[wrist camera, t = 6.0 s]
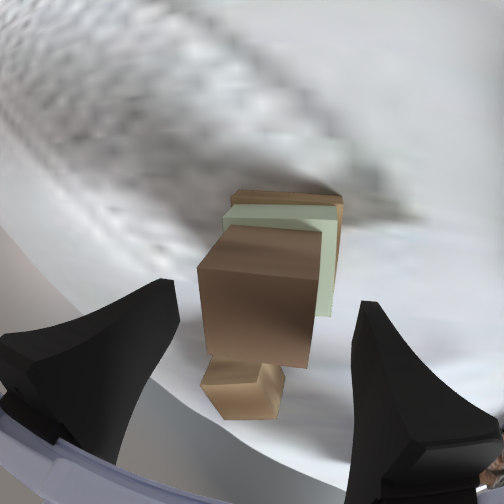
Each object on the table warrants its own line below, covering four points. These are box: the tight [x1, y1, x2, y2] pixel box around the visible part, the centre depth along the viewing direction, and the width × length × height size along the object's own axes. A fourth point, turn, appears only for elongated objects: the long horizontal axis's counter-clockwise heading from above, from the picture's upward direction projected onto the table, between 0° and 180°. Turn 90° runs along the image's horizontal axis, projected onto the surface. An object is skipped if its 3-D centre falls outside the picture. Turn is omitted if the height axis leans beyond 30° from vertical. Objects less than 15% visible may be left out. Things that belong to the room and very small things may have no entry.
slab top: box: [222, 204, 337, 317], centre depth 15 cm, size 5×5×2 cm
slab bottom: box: [231, 190, 343, 292], centre depth 17 cm, size 6×6×2 cm
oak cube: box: [200, 355, 285, 420], centre depth 21 cm, size 4×4×4 cm
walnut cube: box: [197, 225, 322, 369], centre depth 13 cm, size 4×4×4 cm
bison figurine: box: [476, 432, 504, 490], centre depth 19 cm, size 12×7×10 cm
